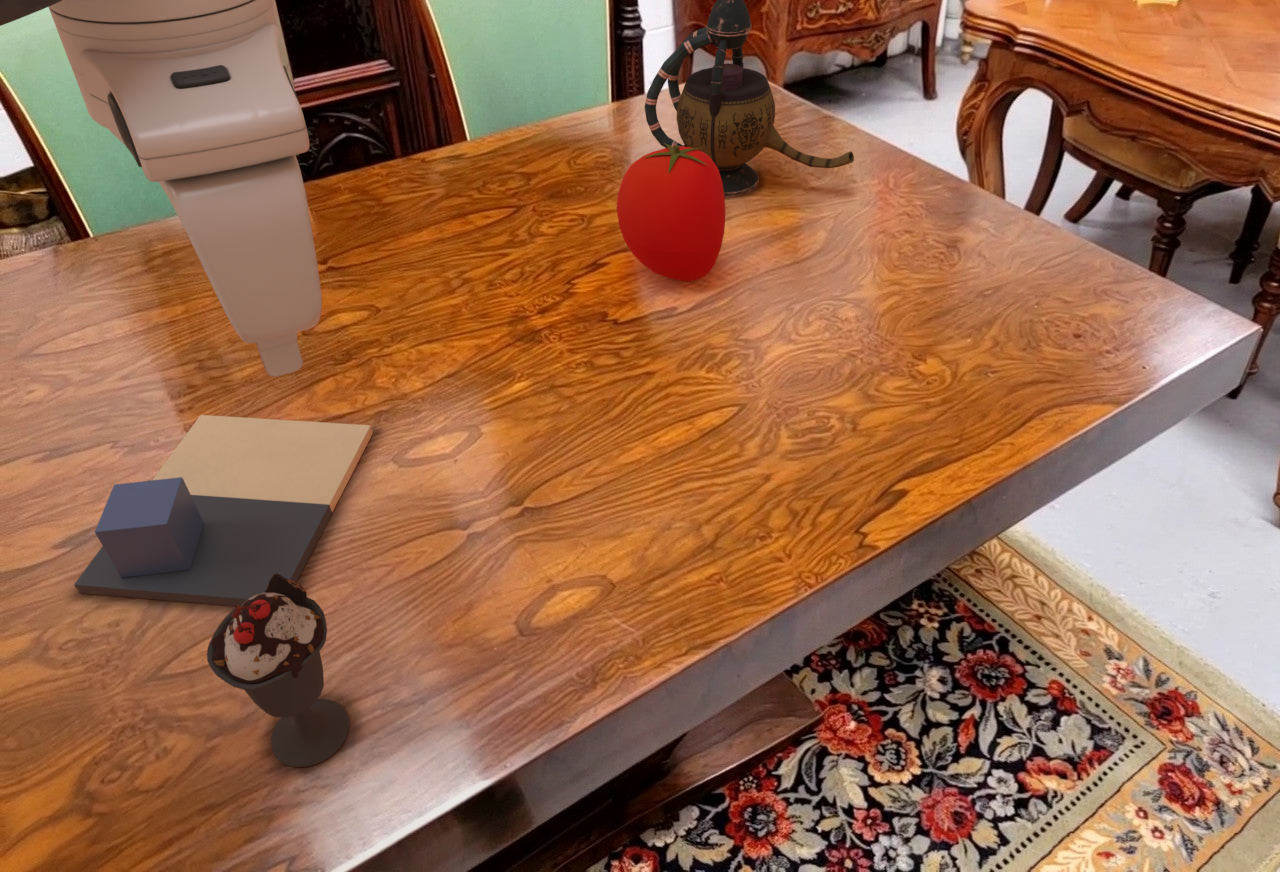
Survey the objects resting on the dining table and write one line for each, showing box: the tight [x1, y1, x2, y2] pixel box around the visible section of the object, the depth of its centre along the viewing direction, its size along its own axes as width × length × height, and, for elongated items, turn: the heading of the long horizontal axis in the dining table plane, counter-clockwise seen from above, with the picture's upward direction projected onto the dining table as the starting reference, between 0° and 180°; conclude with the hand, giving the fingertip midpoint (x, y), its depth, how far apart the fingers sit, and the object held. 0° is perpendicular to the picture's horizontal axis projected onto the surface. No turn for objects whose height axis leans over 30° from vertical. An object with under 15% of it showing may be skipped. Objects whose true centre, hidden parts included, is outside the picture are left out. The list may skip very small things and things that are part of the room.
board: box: [73, 414, 374, 607], centre depth 76 cm, size 16×20×1 cm
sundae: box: [206, 573, 350, 768], centre depth 56 cm, size 7×7×15 cm
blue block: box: [94, 477, 204, 578], centre depth 70 cm, size 5×5×5 cm
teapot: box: [644, 0, 855, 198], centre depth 111 cm, size 12×25×23 cm, turn 71°
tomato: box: [616, 143, 726, 282], centre depth 99 cm, size 13×11×14 cm
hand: (262, 321), depth 51 cm, fingers open, 8 cm apart
